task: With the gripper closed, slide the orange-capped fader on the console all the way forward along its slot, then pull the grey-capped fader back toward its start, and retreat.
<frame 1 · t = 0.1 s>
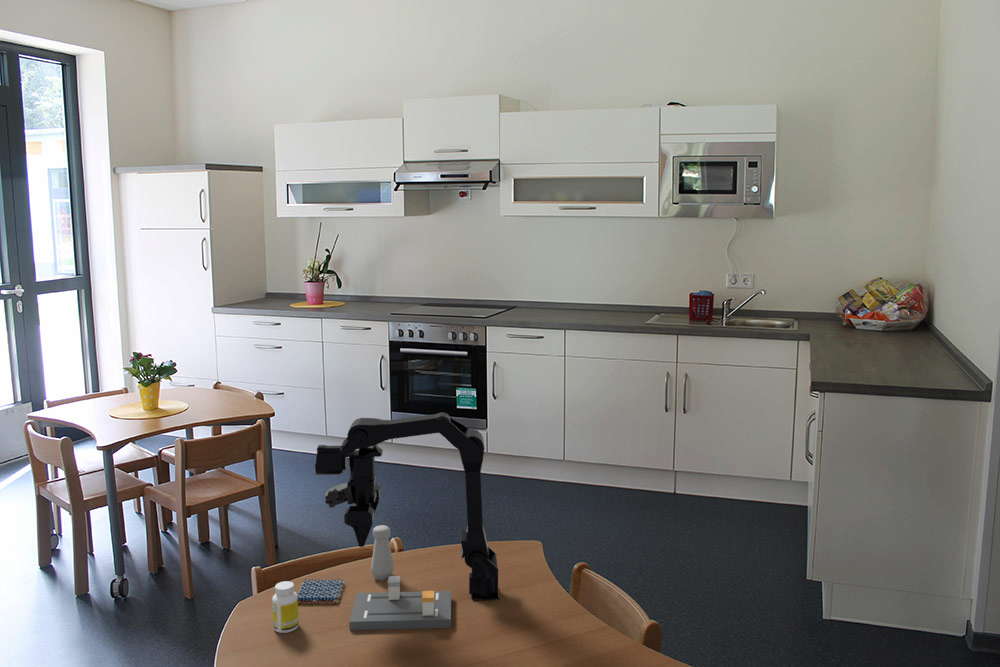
hand: (363, 538, 187), 15 cm above the table, fingers open, 9 cm apart
salt shaker: (382, 577, 200), on the table
woven mat: (320, 596, 191), on the table
supplement bottle: (286, 628, 176), on the table
grey fader: (394, 587, 185), point 4 cm above the table, slide at 8.0 cm
console: (402, 613, 182), on the table
orange fader: (428, 603, 178), point 4 cm above the table, slide at 0.0 cm
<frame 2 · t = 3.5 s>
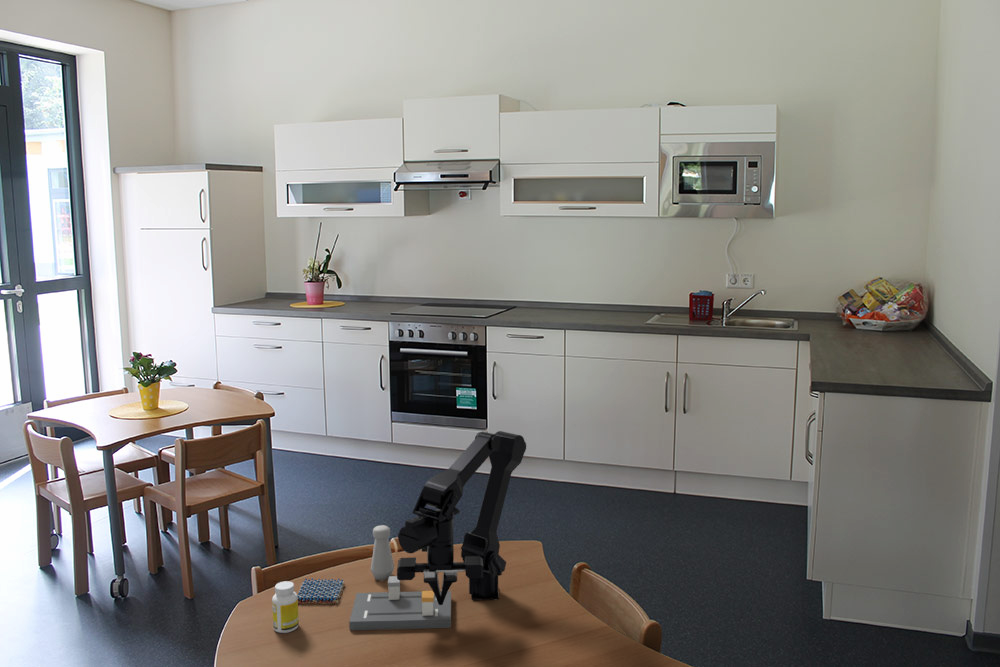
hand: (440, 604, 178), 4 cm above the table, fingers closed
orange fader: (427, 603, 178), point 4 cm above the table, slide at 0.1 cm, touching gripper
everything else where it was.
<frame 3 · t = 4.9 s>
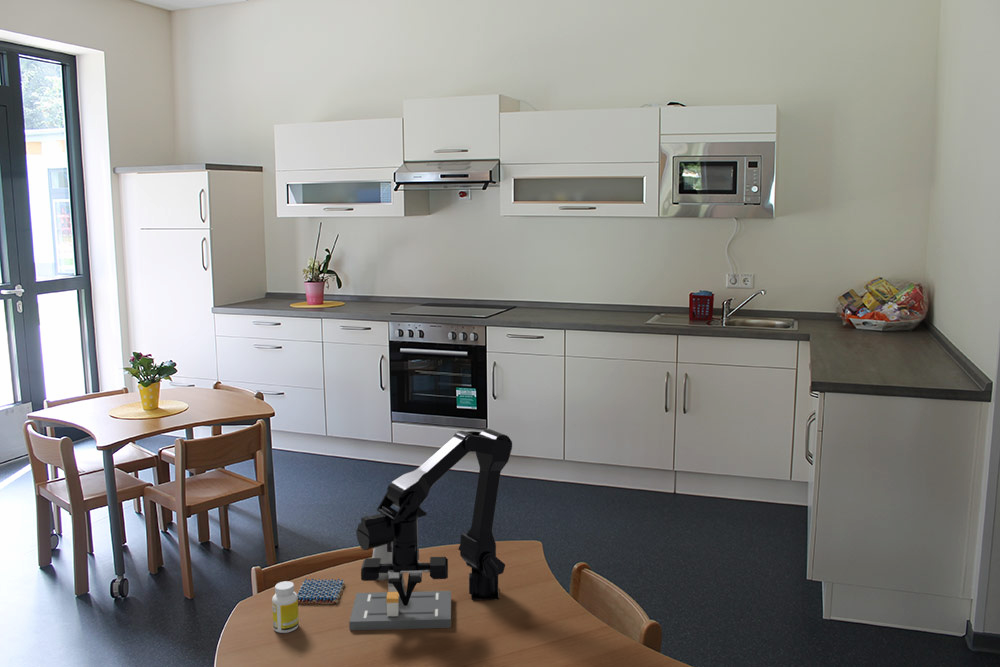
hand: (405, 604, 178), 4 cm above the table, fingers closed
orange fader: (393, 604, 178), point 4 cm above the table, slide at 7.8 cm, touching gripper
everything else where it was.
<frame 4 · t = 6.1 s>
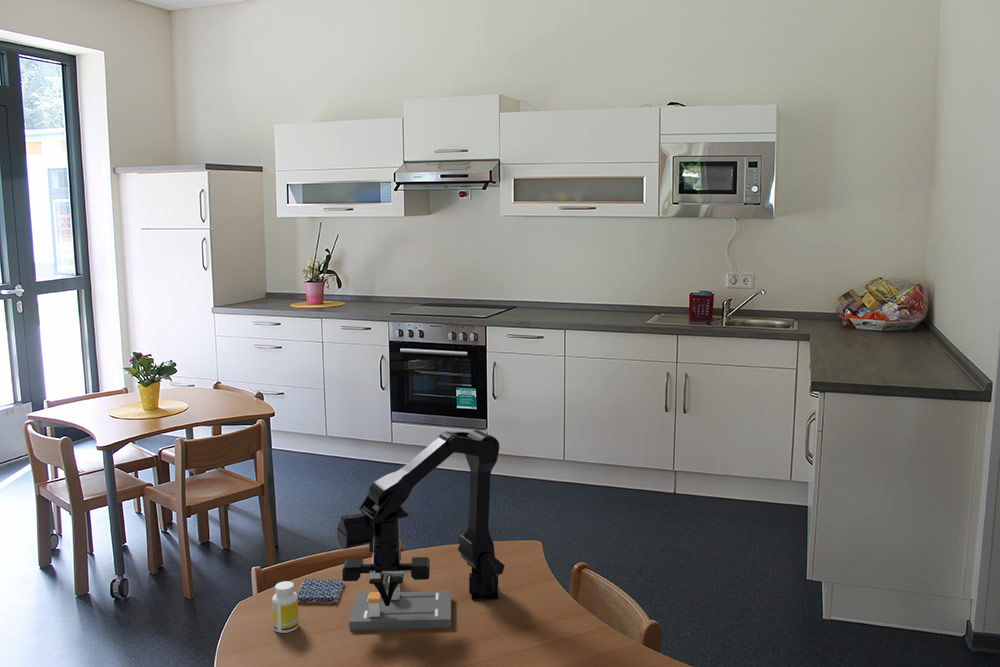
hand: (387, 605, 178), 4 cm above the table, fingers closed
orange fader: (374, 604, 178), point 4 cm above the table, slide at 11.8 cm, touching gripper
everything else where it was.
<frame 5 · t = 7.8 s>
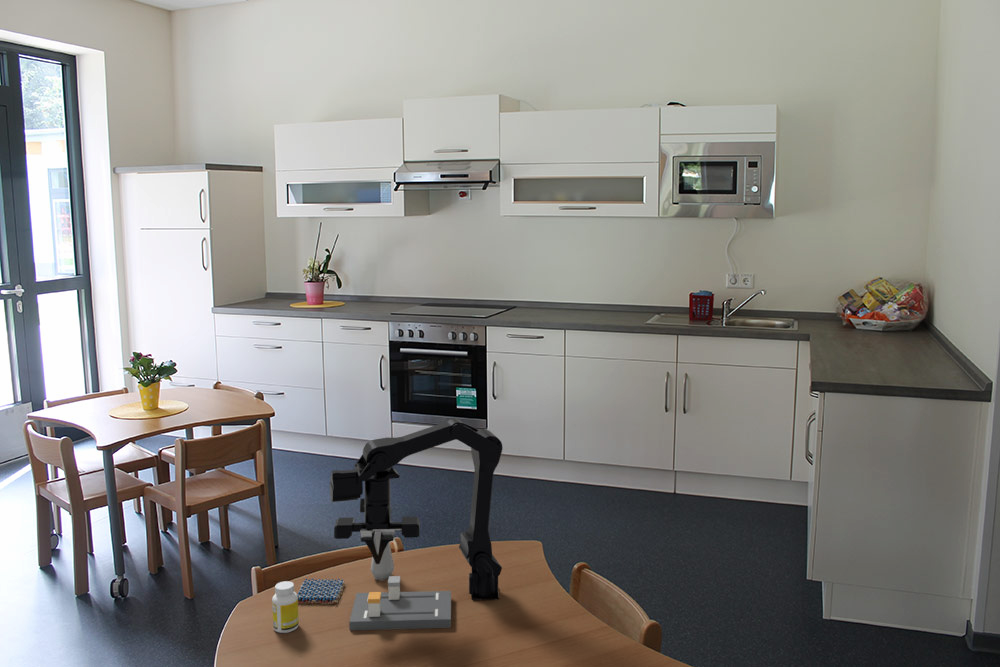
hand: (377, 563, 182), 11 cm above the table, fingers closed
orange fader: (374, 604, 178), point 4 cm above the table, slide at 11.8 cm
everything else where it was.
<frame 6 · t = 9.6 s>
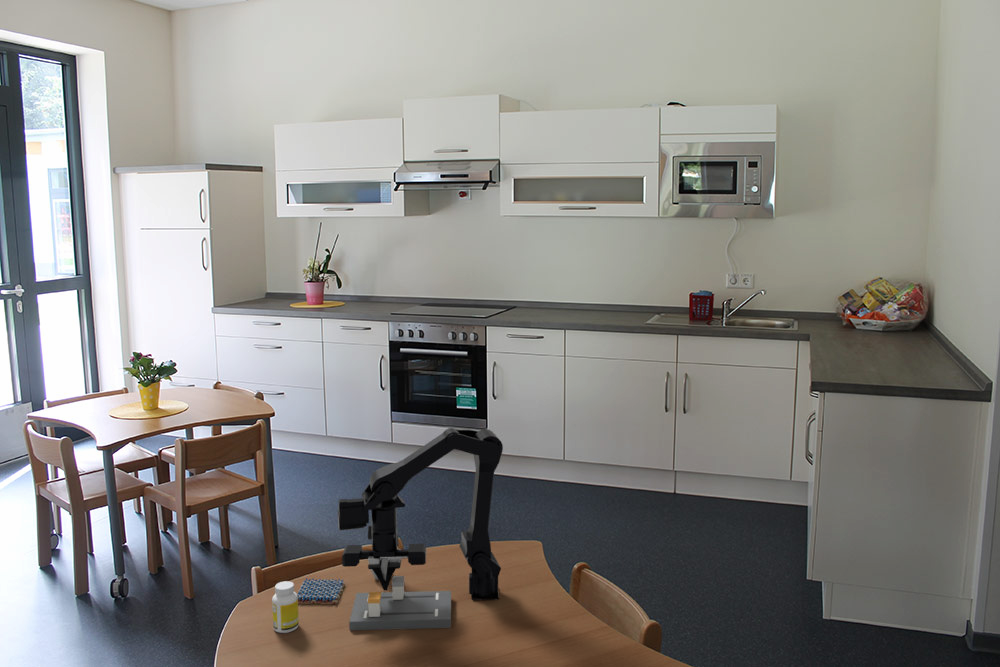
hand: (385, 589, 185), 4 cm above the table, fingers closed
grey fader: (398, 587, 185), point 4 cm above the table, slide at 7.1 cm, touching gripper
everything else where it was.
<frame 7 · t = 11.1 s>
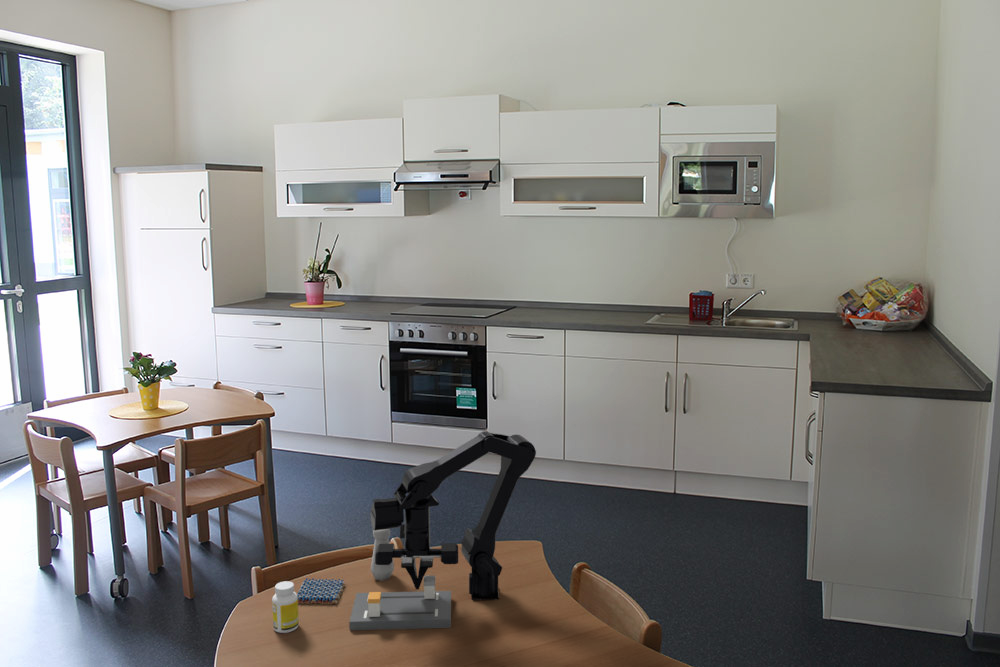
hand: (417, 588, 185), 4 cm above the table, fingers closed
grey fader: (429, 587, 186), point 4 cm above the table, slide at -0.1 cm, touching gripper
everything else where it was.
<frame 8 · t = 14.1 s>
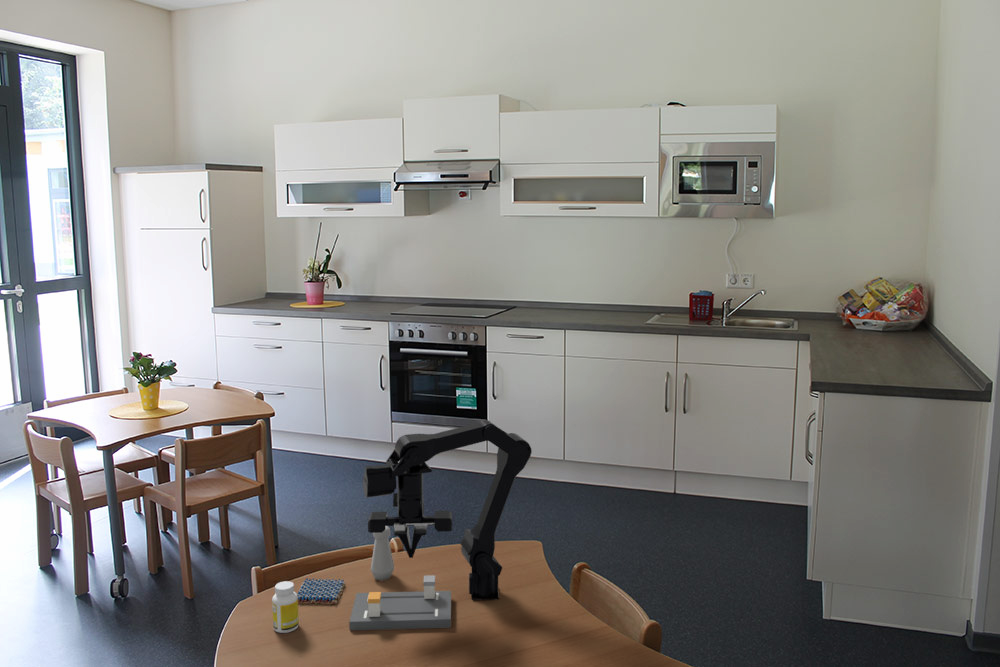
hand: (411, 557, 184), 12 cm above the table, fingers closed
grey fader: (429, 587, 186), point 4 cm above the table, slide at -0.1 cm
everything else where it was.
at the end: orange fader slide at 11.8 cm; grey fader slide at -0.1 cm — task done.
